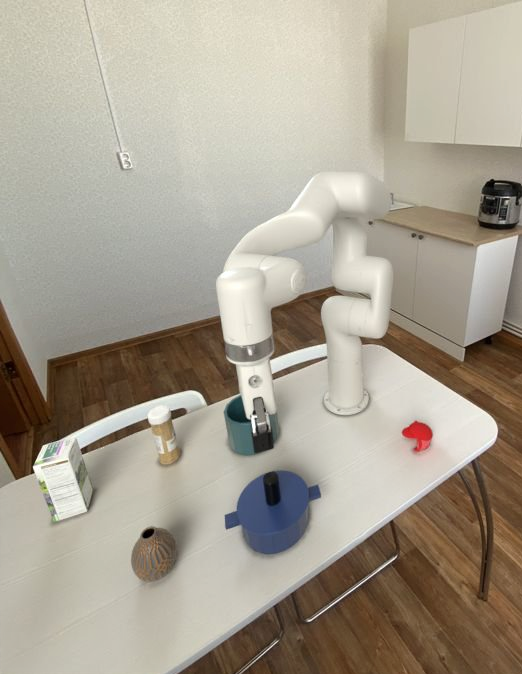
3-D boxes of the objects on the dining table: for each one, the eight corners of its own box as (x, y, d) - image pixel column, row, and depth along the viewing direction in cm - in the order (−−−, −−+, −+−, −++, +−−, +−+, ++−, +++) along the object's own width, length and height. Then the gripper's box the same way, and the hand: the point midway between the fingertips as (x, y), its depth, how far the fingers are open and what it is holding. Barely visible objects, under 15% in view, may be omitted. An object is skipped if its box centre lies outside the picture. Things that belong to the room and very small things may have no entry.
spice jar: (182, 459, 89) (171, 412, 84) (160, 468, 86) (148, 421, 82) (178, 447, 92) (168, 401, 88) (158, 455, 90) (145, 409, 85)
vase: (134, 597, 62) (121, 561, 59) (138, 557, 68) (127, 522, 65) (180, 578, 65) (170, 543, 62) (180, 541, 71) (171, 507, 68)
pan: (226, 509, 77) (222, 489, 75) (313, 482, 82) (311, 462, 81) (230, 571, 66) (225, 549, 64) (329, 534, 72) (328, 513, 70)
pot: (247, 415, 102) (243, 387, 99) (287, 425, 99) (284, 396, 96) (218, 448, 92) (212, 418, 89) (261, 460, 88) (257, 429, 85)
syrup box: (62, 499, 79) (40, 444, 74) (95, 489, 82) (76, 435, 76) (53, 523, 75) (29, 466, 69) (89, 511, 77) (68, 456, 72)
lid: (234, 486, 76) (230, 461, 74) (300, 466, 80) (298, 441, 78) (240, 550, 64) (235, 522, 62) (317, 522, 69) (315, 495, 66)
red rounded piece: (419, 430, 96) (420, 410, 94) (437, 443, 92) (438, 423, 90) (396, 445, 92) (396, 425, 90) (414, 460, 87) (415, 440, 85)
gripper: (282, 367, 55) (291, 460, 61) (266, 318, 70) (274, 396, 76) (227, 379, 52) (242, 474, 58) (223, 325, 68) (235, 405, 74)
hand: (260, 430), depth 67 cm, fingers open, 9 cm apart
